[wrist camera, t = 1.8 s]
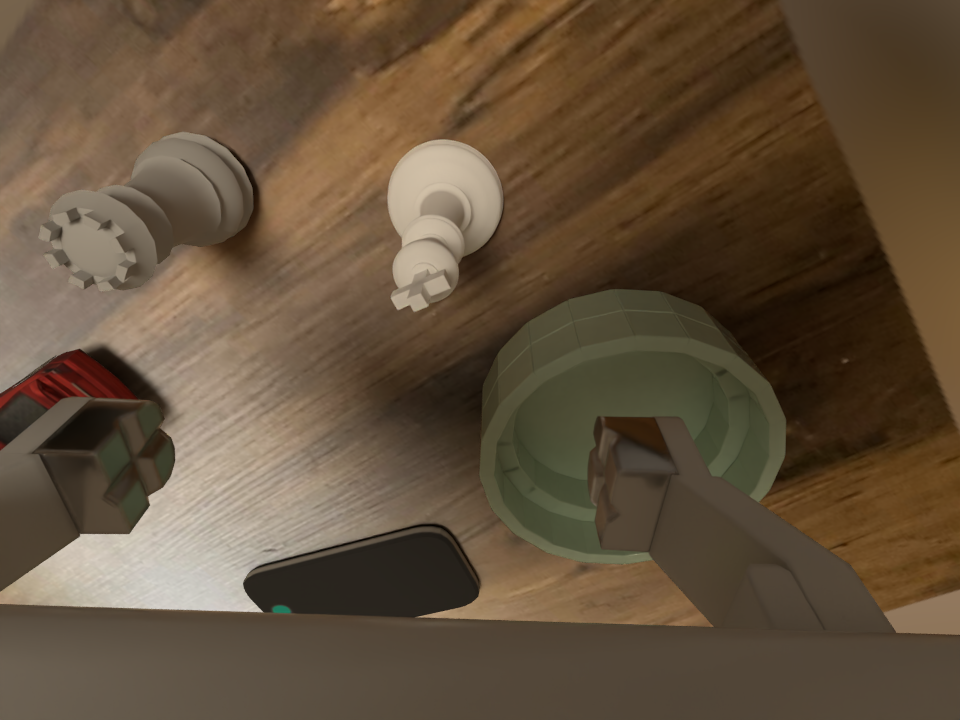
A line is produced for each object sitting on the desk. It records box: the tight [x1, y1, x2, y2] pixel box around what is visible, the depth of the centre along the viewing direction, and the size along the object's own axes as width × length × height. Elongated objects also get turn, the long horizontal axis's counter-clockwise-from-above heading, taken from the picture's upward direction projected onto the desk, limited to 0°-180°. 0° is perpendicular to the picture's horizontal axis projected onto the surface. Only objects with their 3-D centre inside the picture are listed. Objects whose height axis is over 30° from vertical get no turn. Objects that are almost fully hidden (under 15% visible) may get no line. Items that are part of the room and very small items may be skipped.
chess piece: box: [387, 140, 503, 312], centre depth 19 cm, size 5×5×10 cm
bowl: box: [479, 289, 786, 564], centre depth 26 cm, size 13×13×5 cm
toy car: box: [0, 349, 139, 451], centre depth 28 cm, size 6×15×5 cm, turn 117°
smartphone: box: [243, 526, 479, 617], centre depth 36 cm, size 8×1×15 cm
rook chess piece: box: [39, 132, 253, 292], centre depth 20 cm, size 4×4×8 cm
